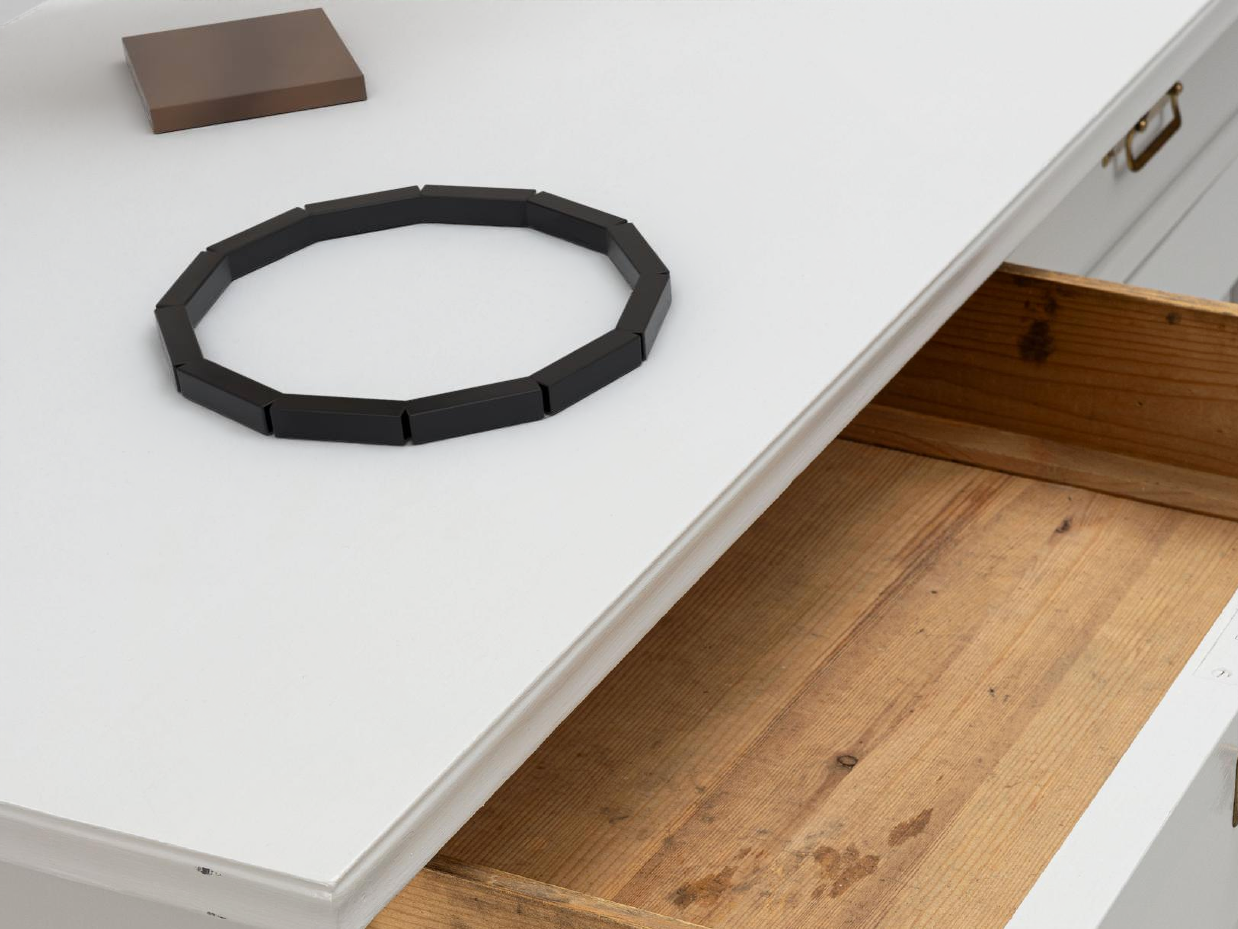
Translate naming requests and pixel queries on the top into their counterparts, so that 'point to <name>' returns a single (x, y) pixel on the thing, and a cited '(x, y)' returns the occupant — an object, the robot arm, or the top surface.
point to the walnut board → (242, 69)
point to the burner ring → (433, 412)
